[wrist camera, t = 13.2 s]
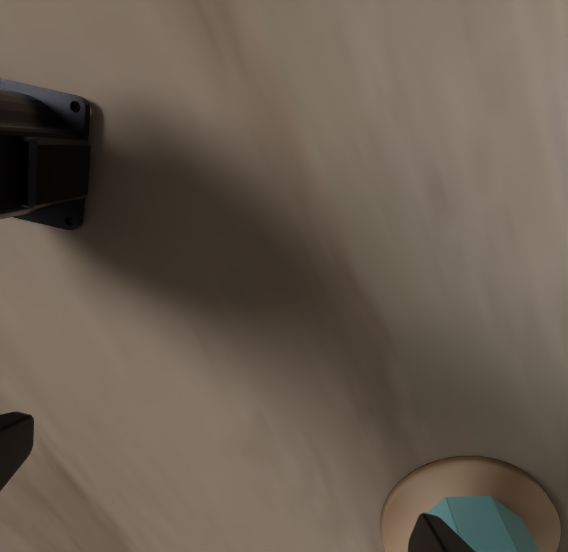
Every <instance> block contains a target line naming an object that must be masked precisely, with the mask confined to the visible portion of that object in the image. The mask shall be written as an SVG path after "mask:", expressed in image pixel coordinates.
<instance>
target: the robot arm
mask: <svg viewBox="0 0 568 552" xmlns="http://www.w3.org/2000/svg"><path fill="white" fill-rule="evenodd" d="M77 102H78V103H79V104H80V111H79V112H77V111H76V110H75V104H76V103H77ZM89 118H90V106H89V103H88V101H87V100H86V99H85V98H83V97H80V96H76V95H72V94H67V93H63V92H58V91H54V90H49V89H45V88H40V87H36V86H31V85H27V84H23V83H18V82H14V81H9V80H5V79H0V219H4V218H9V217H15V218H19V219H23V220H28V221H32V222H36V223H40V224H45V225H49V226H53V227H58V228H62V229H66V230H75V229H78V228H80V227H81V226H82V224H83V217H84V201H85V196H86V195H87V194H88V179H89V163H90V145H89V143H88V135H89ZM70 216H71V217H72V218H73V219H74V224H72V223H71V222H70V220H69V217H70ZM33 436H34V419H33V417H32V416H31V415H29V414H25V413H21V412H10V413H6V414H2V415H0V491H1V490H2V488H3V487H4V486H5V485H6V483H7V482H8V481H9V480H10V478H11V477H12V476H13V475H14V473H15V472H16V471H17V470H18V469H19V467H20V466H21V465H22V464H23V462H24V461H25V460H26V459H27V457H28V456H29V454H30V452H31V450H32V447H33ZM408 552H475V551H474V550H473V549H472V548H471V547H470V546H469V545H468V544H467V543H466V542H465V541H464V540H463V539H462V538H461V537H460V536H459V535H458V534H457V533H456V532H455V531H454V530H453V529H452V528H450V527H449V526H448V525H447V524H446V523H445V522H444V521H443V520H442V519H441V518H440V517H438V516H435V515H431V514H427V513H421V514H420V515H419V517H418V519H417V521H416V524H415V526H414V529H413V531H412V533H411V536H410V538H409V543H408Z"/></svg>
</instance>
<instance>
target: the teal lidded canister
mask: <svg viewBox="0 0 568 552" xmlns="http://www.w3.org/2000/svg"><path fill="white" fill-rule="evenodd" d="M426 513H427V514H431V515H435V516H438V517H440V518H441V519H442V520H443V521H444V522H445V523H446V524H447V525H448V526H449V527H450V528H452V529H453V530H454V531H455V532H456V533H457V534H458V535H459V536H460V537H461V538H462V539H463V540H464V541H465V542H466V543H467V544H468V545H469V546H470V547H471V548H472V549H473V550H474V551H475V552H539V550H538V548H537V547H536V545H535V543H534V541H533V539H532V537H531V535H530V533H529V532H528V530H527V528H526V526H525V524H524V522H523V520H522V519H521V518H520V517H518V516H517V515H516V514H514V513H513V512H512V511H510V510H509V509H508V508H506V507H505V506H504V505H502V504H501V503H500V502H498V501H497V500H496V499H494V498H493V497H492V496H462V497H445V498H444V499H442V500H441V501H440V502H439V503H438V504H436V505H435V506H434V507H433V508H431V509H430V510H429V511H428V512H426Z"/></svg>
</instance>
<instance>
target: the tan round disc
mask: <svg viewBox="0 0 568 552" xmlns="http://www.w3.org/2000/svg"><path fill="white" fill-rule="evenodd" d="M462 496H492V497H493V498H494V499H496V500H497V501H498V502H500V503H501V504H502V505H504V506H505V507H506V508H508V509H509V510H510V511H512V512H513V513H514V514H516V515H517V516H518V517H520V518H521V519H522V520H523V522H524V524H525V526H526V528H527V530H528V532H529V533H530V535H531V537H532V539H533V541H534V543H535V545H536V547H537V548H538V550H539V552H556V551H557V549H558V546H559V542H560V535H561V527H560V521H559V517H558V514H557V511H556V509H555V507H554V505H553V504H552V502H551V500H550V499H549V497H548V496H547V494H546V493H545V491H544V490H543V488H542V487H541V486H540V485H539V484H538V483H537V482H536V481H535V479H533V478H532V477H531V476H530V475H528V474H527V473H526V472H524V471H522V470H521V469H519V468H517V467H515V466H513V465H511V464H508V463H506V462H503V461H499V460H496V459H491V458H486V457H476V456H460V457H452V458H446V459H442V460H438V461H435V462H432V463H429V464H426V465H424V466H422V467H420V468H418V469H416V470H414V471H413V472H411V473H410V474H408V475H407V476H406V477H404V478H403V479H402V480H401V481H400V482H399V483H398V484H397V485H396V486H395V487H394V488H393V489H392V491H391V492H390V494H389V495H388V497H387V499H386V501H385V503H384V506H383V510H382V514H381V531H382V538H383V543H384V548H385V551H386V552H408V543H409V538H410V536H411V533H412V531H413V529H414V526H415V524H416V521H417V519H418V517H419V515H420V514H421V513H426V512H428V511H429V510H430V509H431V508H433V507H434V506H435V505H436V504H438V503H439V502H440V501H441V500H442V499H444V498H445V497H462Z"/></svg>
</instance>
